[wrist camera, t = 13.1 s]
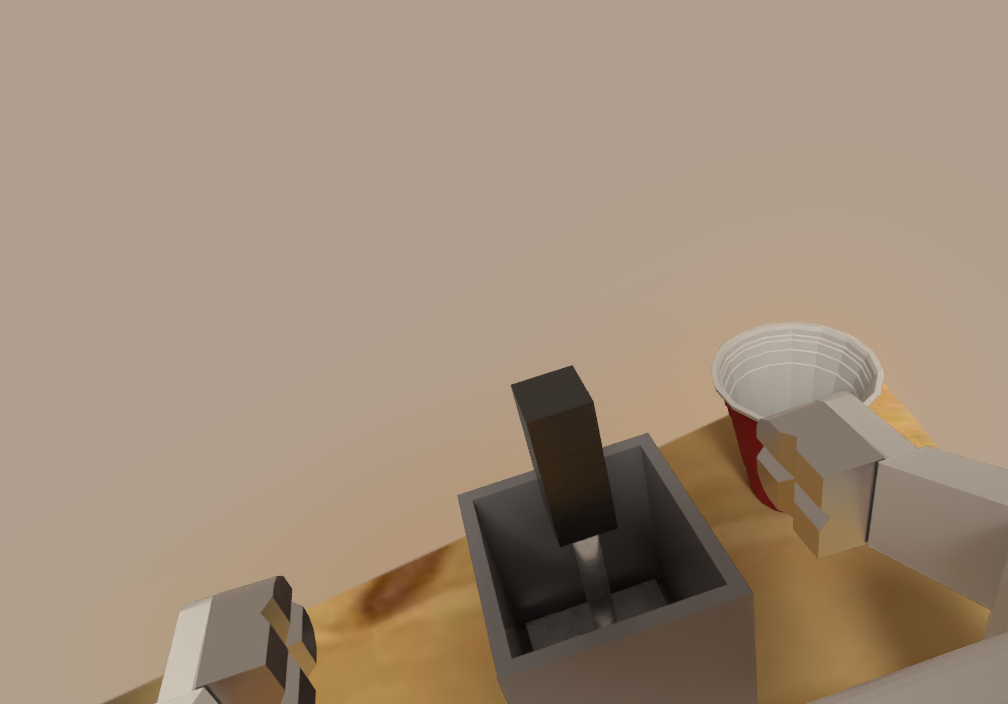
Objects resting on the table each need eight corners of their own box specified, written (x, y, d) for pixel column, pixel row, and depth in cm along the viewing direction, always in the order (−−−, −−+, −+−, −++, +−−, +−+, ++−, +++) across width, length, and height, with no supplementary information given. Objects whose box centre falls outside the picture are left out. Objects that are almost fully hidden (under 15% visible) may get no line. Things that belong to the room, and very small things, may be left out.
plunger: (567, 771, 37) (467, 496, 25) (528, 630, 44) (437, 370, 33) (721, 715, 37) (694, 421, 26) (656, 586, 45) (612, 315, 33)
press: (556, 820, 36) (498, 681, 29) (509, 633, 46) (457, 495, 39) (758, 747, 37) (753, 592, 30) (668, 579, 47) (647, 432, 40)
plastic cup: (748, 558, 47) (743, 432, 41) (700, 456, 56) (690, 340, 50) (902, 527, 46) (922, 394, 40) (828, 429, 55) (835, 308, 49)
